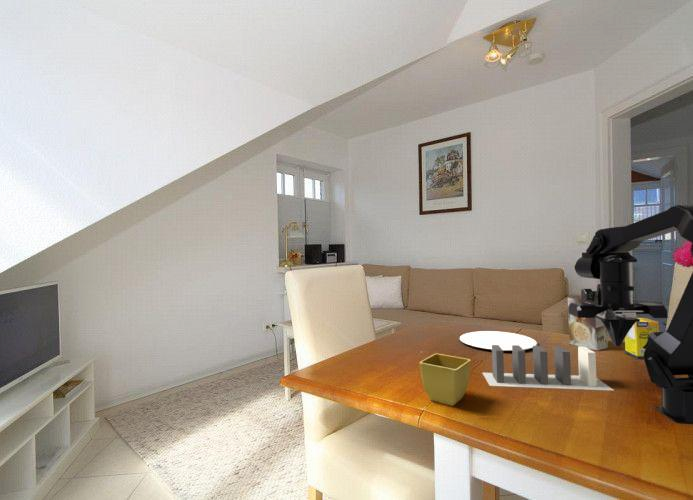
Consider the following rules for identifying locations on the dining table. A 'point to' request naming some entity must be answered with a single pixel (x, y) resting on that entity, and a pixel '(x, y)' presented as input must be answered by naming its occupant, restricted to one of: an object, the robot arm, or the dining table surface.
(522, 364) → the domino
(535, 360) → the domino
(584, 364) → the domino
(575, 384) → the runner mat
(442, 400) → the flower pot
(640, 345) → the supplement box
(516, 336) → the plate
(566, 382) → the domino
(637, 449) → the dining table surface
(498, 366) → the domino
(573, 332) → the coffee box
